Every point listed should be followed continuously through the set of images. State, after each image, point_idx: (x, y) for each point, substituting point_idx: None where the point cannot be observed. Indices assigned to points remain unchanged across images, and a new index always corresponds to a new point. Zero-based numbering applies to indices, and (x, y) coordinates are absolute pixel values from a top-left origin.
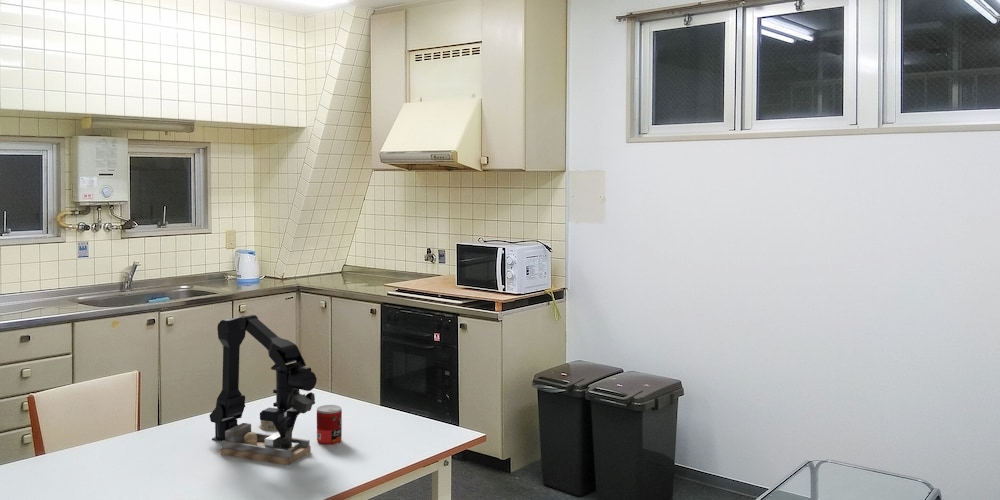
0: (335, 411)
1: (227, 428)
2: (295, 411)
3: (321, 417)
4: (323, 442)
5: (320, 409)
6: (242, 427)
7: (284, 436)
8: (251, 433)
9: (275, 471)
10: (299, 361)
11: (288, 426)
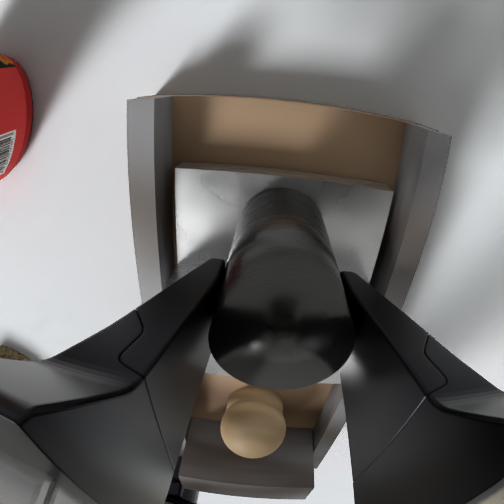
0: None
1: None
2: (49, 477)
3: None
4: (26, 106)
5: None
6: (238, 485)
7: (356, 275)
8: (259, 449)
9: (498, 162)
10: None
11: (241, 337)
